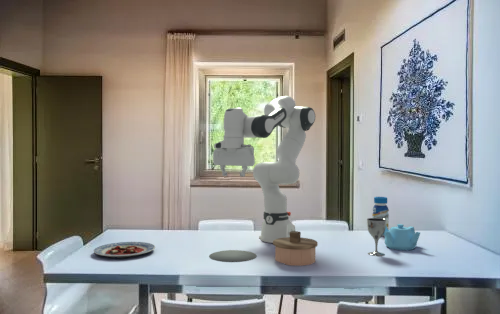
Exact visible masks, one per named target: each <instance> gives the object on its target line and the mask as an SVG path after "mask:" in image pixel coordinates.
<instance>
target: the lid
mask: <svg viewBox="0 0 500 314" xmlns="http://www.w3.org/2000/svg"><path fill="white" fill-rule="evenodd" d="M301 236H302V235H301V231H299V230H297V231H296V230H295V231H292V232H290V237H286V238H278V239H275V240H273V243H272V245H273V246H274V247H275V246H276V247H279V248H284V249H310V248H314V247H318V244H319V243H318V241H317V240H315V239H312V238H308V237H301Z"/></svg>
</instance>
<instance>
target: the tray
mask: <svg viewBox="0 0 500 314" xmlns="http://www.w3.org/2000/svg"><path fill="white" fill-rule="evenodd" d="M208 257H209V259H211V260H213V261H217V262H222V263H241V262H249V261H253V260H255V259H257V257H258V256H257V254H256V253H254V252H252V251H248V250H240V249H239V250H238V249H235V250H234V249H232V250H231V249H229V250H218V251H215V252H211V254H209V256H208Z"/></svg>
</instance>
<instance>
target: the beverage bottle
mask: <svg viewBox="0 0 500 314" xmlns="http://www.w3.org/2000/svg"><path fill="white" fill-rule="evenodd" d="M373 204H374V206H373V208H372V213H371V215H372V218H382V219H386V226H387V228H388V229H389V226H390V225H389V221H390V220H389V217H390V215H389V211H390V210H389V207H388V205H387V204H388V197H386V196H374V197H373ZM381 237H385V236H384V234H383V235H382V236H381Z"/></svg>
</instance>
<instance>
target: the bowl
mask: <svg viewBox="0 0 500 314" xmlns="http://www.w3.org/2000/svg"><path fill="white" fill-rule="evenodd" d="M274 248H275V250H274V251H275V252H274V253H275V257H274V258H275V259H274V260H275V261H276V262H278V263H280V264H284V265H286V266H298V267H299V266H301V267H302V266H309V265H313V264H315V263H316V247H314V248H310V249H284V248H279V247H276V246H274Z"/></svg>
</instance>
